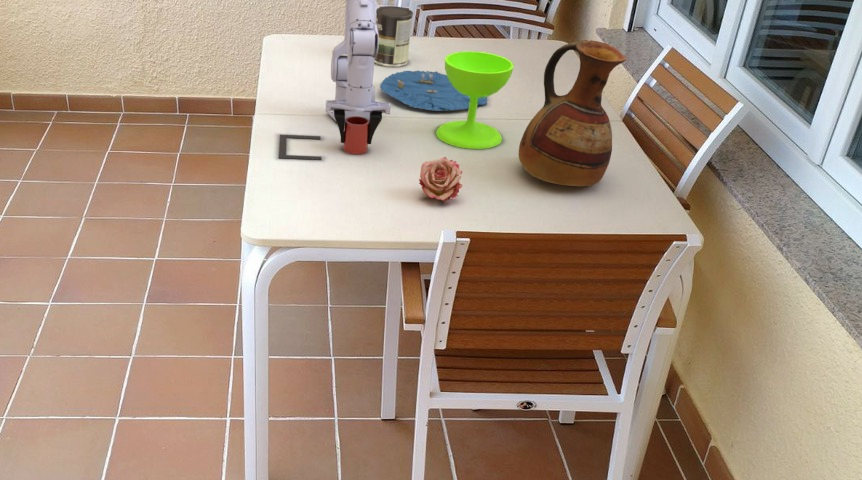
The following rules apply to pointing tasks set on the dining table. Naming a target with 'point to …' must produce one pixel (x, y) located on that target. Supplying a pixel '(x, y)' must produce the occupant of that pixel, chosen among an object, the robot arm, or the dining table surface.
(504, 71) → the wineglass
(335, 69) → the robot arm
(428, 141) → the dining table surface
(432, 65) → the dining table surface
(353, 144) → the tumbler
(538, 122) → the ceramic pitcher
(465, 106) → the decorative plate
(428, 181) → the flower
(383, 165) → the dining table surface
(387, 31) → the coffee can
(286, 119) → the dining table surface
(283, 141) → the tape bay
